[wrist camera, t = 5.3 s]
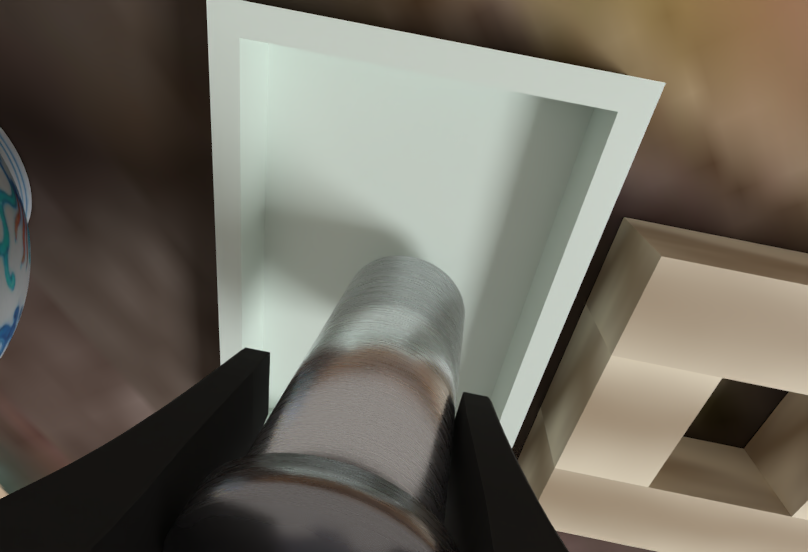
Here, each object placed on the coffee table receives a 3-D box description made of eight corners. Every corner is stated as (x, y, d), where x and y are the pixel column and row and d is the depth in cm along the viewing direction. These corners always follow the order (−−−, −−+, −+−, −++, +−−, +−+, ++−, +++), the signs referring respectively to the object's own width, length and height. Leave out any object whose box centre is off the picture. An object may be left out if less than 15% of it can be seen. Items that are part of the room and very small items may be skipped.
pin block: (778, 514, 20) (826, 586, 17) (517, 461, 20) (526, 524, 17) (990, 289, 14) (1110, 345, 12) (623, 217, 14) (661, 256, 12)
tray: (484, 454, 20) (488, 505, 18) (249, 405, 20) (223, 450, 18) (628, 75, 13) (665, 82, 10) (249, 1, 13) (205, -7, 10)
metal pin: (459, 382, 16) (428, 709, 8) (329, 350, 16) (177, 633, 8) (494, 262, 13) (497, 559, 6) (340, 228, 14) (144, 463, 6)
